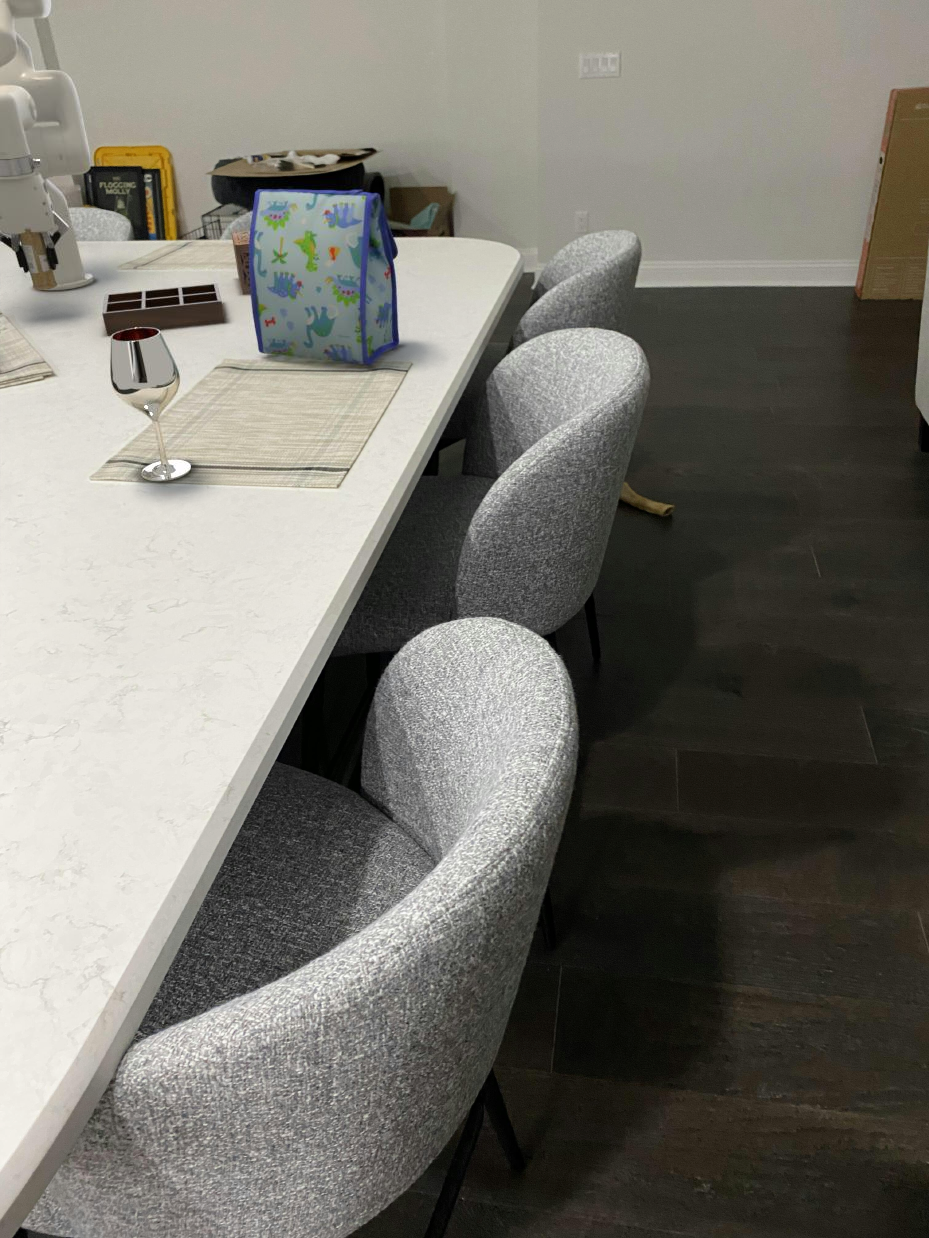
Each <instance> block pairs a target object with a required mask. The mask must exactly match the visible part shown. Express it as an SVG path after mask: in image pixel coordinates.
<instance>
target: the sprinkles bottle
mask: <svg viewBox="0 0 929 1238" xmlns="http://www.w3.org/2000/svg"><path fill="white" fill-rule="evenodd" d="M30 227H31V226H30V225H28V224H27V223H25V224H24V225H23V228H30ZM25 231H26V232H25V233H22V234H19V238H20V245H21V246H22V249H23V253H24V256H25V259H26V263H27V266H28V270H29V271H28V273H29V274H30V278H31V282H32V288H33V289H34V290H38V291H49V290H48V289H51V288H54V287H56V286H57V282H56V281H55V277H54V274H53V270H51V267H50V263H49V259H48V256H47V252H46V244H45V242H44V238H43V236H42V234H41V233H35V232H31V229H25Z"/></svg>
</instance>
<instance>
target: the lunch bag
mask: <svg viewBox="0 0 929 1238" xmlns="http://www.w3.org/2000/svg"><path fill="white" fill-rule="evenodd" d="M252 207H253V208H252V214H251V221H250V228H249V230H250V239H249V274H250V287H251V294H250V301H251V309H252V319H253V325H254V332H255V335H256V341H257V349H258V352H259V353H261V354H264V355H266V354H267V355H272V356H274V355H275V356H284V357H291V358H300V359H311V360H319V361H330V362H331V361H332V362H338V363H339V362H340V363H348V364H355V365H356V364H359V365H360V364H361V365H366V366H370V365H372V364H373V363H374V362H375V361H377V359H378V358H379V357H381V356H382V355H383V354H384V353H386V352H388V351H390V350H393V349H395V348H397V347H398V346H399V345H400V334H399V320H398V319H399V317H398V316H399V314H398V313H399V312H398V294H397V293H398V291H397V290H398V288H397V278H396V269H395V264H394V263H395V262H394V260H395V259H396V258H397V257H398V255H399V250H398V245H397V243H396V239H395V238H394V234H393V233H392V230H391V227H390V225H389V221H388V218H387V215H386V212H385V208H384V205H383V202H382V199H381V195H380V194H379V193H378V192H374V193H371V192H367V191H363V189H351V190H335V189H322V190H321V189H319V190H317V189H313V190H312V189H285V188H284V189H282V188H279V189H278V188H277V189H272V188H271V189H268V188H266V189H260V188H258V189H257V190H255V192H254V201H253V206H252Z"/></svg>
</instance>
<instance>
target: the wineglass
mask: <svg viewBox="0 0 929 1238" xmlns="http://www.w3.org/2000/svg"><path fill="white" fill-rule="evenodd" d="M109 359H110V360H109V371H110V383H111V386H112V389H113V391H114V393H115V394H116V395H117V397H118V398H119V399H120V401H121V400H122V402H124V403H125V404H126V405H128V406H129V407H130V408H133V409H135V410H137V411H138V412H140V413H142V414H144V415H145V416H146V417H147V418H149V420H151V422H152V427H153V431H154V434H155V440H156V444H157V447H158V448H157V449H158V454H159V458H160V461H156V462H153V463H151V464H148V465H146V466H145V467H144V468H143V469H142V470H141V472H140V475H141V477H142V478H143V479H144V480H147V481H150V482H167V481H172V480H177V479H180V478H182V477H184V476H186V475H188V474H189V473H190V472H191V469H192V466H191V463H189V462H188V461H186V460H183V459H168V455H167V451H166V448H165V447H166V446H165V443H164V439H163V434H162V430H161V425H160V417H161V414H162V413H163V411H164V410H165V408H166V407H167V406H168V405H169V404H171V402H172V400H174V398H175V396H176V395H177V393H178V392H179V388H180V384H181V376H180V371H179V368H178V365H177V363H176V361H175V359H174V357H173V354H172V352H171V350H170V349H169V346H168V345H167V343H166V341H165V339H164V337H163V334H162V333H161V331H160V330H158V329H155V328H132V329H127V330H122V331H119V332H117V333H115V334H113V335H110V358H109Z"/></svg>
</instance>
